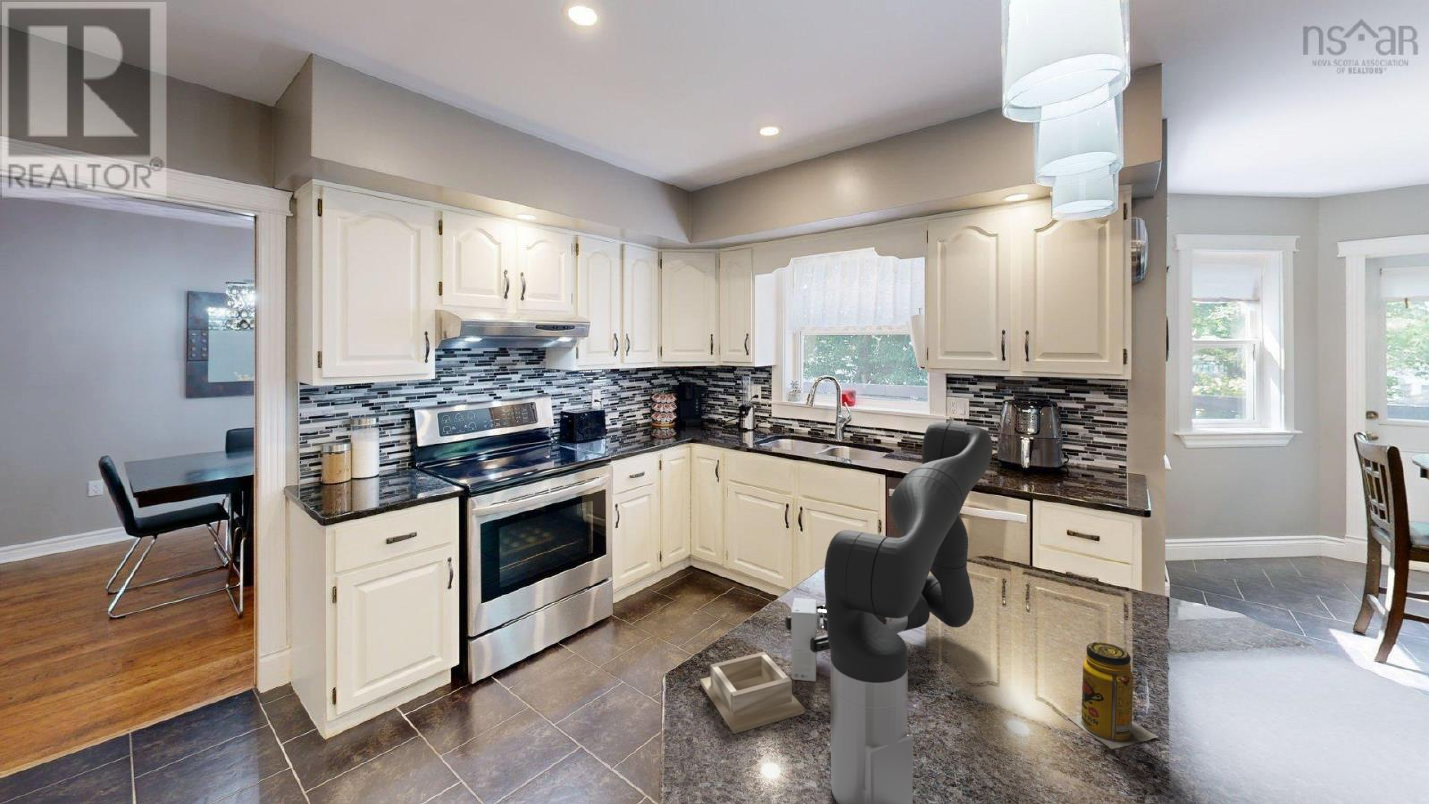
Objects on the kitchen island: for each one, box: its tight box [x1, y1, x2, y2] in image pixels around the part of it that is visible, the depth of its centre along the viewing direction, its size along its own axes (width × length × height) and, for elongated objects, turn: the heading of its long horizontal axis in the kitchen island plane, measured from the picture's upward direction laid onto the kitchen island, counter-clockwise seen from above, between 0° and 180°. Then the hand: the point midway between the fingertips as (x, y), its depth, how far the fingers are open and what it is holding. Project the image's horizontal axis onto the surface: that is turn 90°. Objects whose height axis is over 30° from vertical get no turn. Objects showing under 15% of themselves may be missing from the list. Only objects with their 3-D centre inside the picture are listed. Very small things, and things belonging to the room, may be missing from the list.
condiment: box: [1067, 641, 1159, 750], centre depth 82 cm, size 7×8×12 cm
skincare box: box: [790, 597, 818, 682], centre depth 98 cm, size 6×4×12 cm
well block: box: [699, 651, 806, 735], centre depth 91 cm, size 14×12×4 cm
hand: (798, 634), depth 98 cm, fingers open, 8 cm apart
